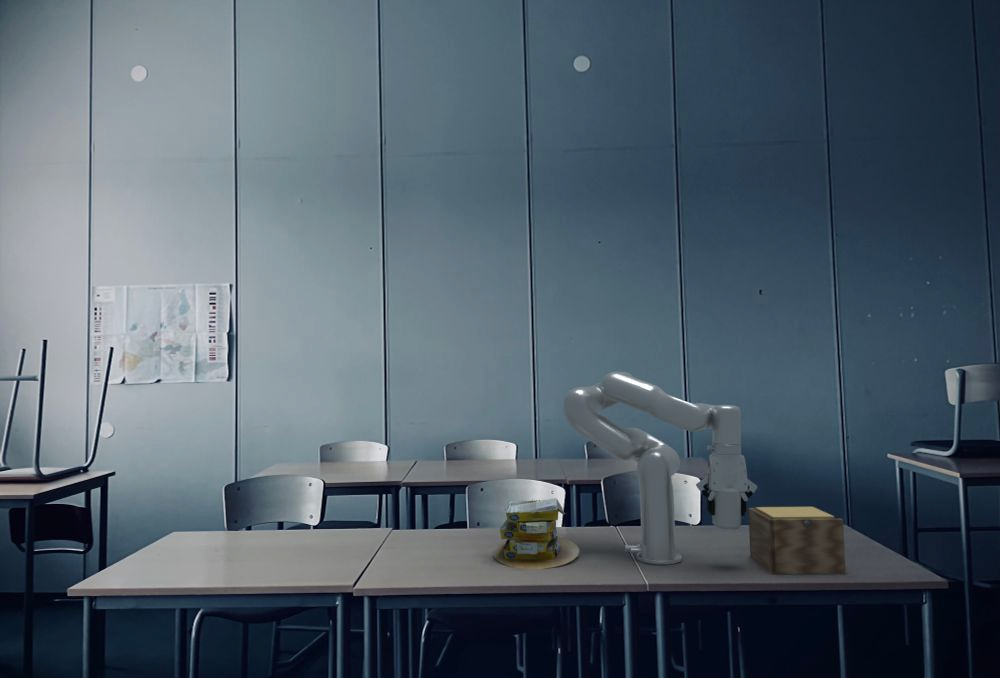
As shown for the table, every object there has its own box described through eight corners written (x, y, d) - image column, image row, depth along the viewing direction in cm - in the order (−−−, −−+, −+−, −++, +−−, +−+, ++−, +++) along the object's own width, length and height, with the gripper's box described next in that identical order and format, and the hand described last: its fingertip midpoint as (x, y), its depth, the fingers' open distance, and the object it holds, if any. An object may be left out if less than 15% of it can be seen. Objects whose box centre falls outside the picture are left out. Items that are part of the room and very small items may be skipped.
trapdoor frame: (773, 575, 177) (770, 520, 178) (749, 556, 195) (747, 507, 196) (847, 574, 176) (844, 520, 177) (816, 556, 195) (814, 506, 196)
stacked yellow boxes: (565, 572, 183) (564, 509, 184) (481, 564, 192) (480, 505, 193) (587, 550, 206) (586, 495, 207) (511, 544, 215) (510, 491, 216)
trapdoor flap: (773, 520, 180) (773, 516, 180) (755, 510, 194) (755, 507, 194) (834, 520, 179) (834, 516, 179) (812, 510, 193) (812, 506, 193)
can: (740, 525, 188) (740, 481, 189) (742, 531, 181) (742, 485, 181) (711, 523, 190) (711, 480, 191) (712, 529, 183) (712, 484, 183)
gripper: (698, 451, 183) (698, 516, 182) (763, 452, 182) (763, 518, 182) (691, 447, 191) (691, 511, 190) (753, 449, 190) (754, 512, 189)
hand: (726, 514), depth 186 cm, fingers closed on can, 7 cm apart
